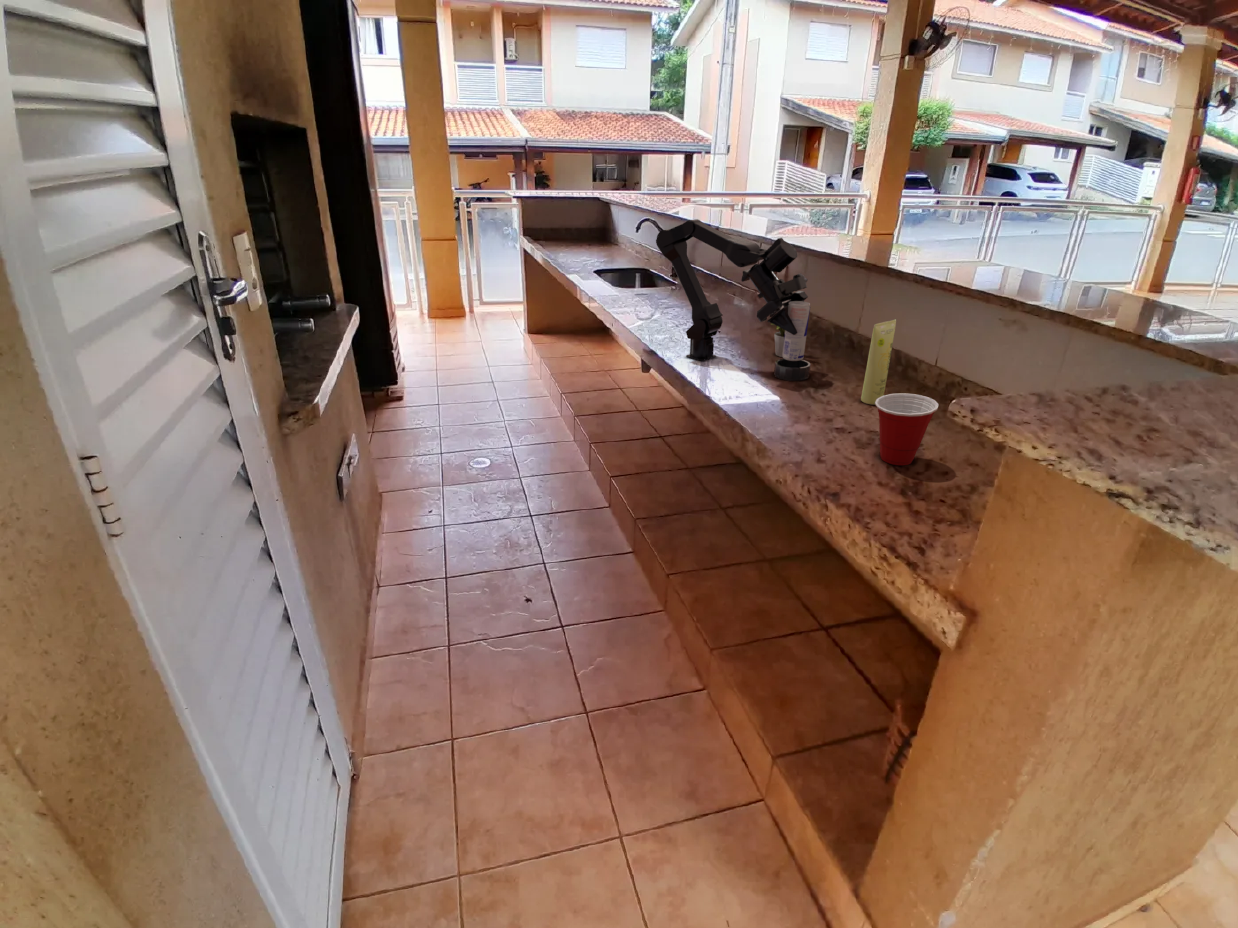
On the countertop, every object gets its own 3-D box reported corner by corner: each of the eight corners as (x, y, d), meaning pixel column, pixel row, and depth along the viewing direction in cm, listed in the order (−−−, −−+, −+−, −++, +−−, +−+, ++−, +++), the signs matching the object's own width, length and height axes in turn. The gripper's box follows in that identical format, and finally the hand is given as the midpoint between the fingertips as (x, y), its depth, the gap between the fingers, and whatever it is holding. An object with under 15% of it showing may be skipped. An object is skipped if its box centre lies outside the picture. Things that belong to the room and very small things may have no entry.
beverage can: (807, 361, 164) (814, 304, 157) (787, 362, 163) (794, 305, 156) (797, 355, 169) (804, 300, 162) (778, 356, 168) (784, 301, 161)
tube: (883, 407, 145) (898, 324, 137) (860, 405, 147) (874, 323, 138) (881, 399, 150) (896, 319, 142) (859, 397, 152) (873, 318, 143)
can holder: (767, 375, 168) (768, 363, 167) (786, 368, 174) (787, 356, 172) (796, 383, 162) (797, 370, 160) (815, 375, 167) (817, 363, 166)
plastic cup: (856, 449, 124) (865, 392, 119) (907, 446, 125) (919, 390, 120) (881, 473, 114) (892, 413, 109) (936, 470, 115) (951, 410, 110)
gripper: (772, 268, 151) (808, 319, 149) (805, 259, 164) (839, 307, 162) (741, 296, 159) (775, 346, 157) (775, 286, 172) (807, 331, 170)
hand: (800, 331), depth 162 cm, fingers closed on beverage can, 5 cm apart
